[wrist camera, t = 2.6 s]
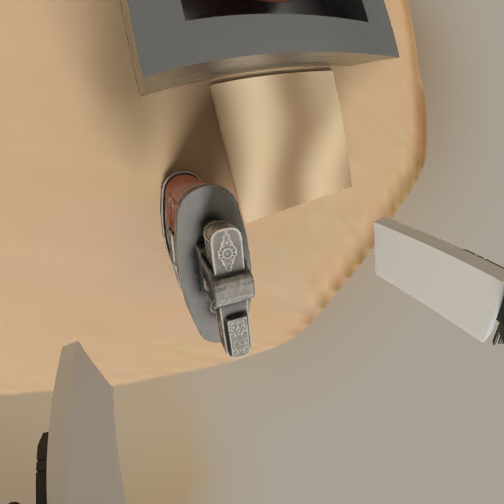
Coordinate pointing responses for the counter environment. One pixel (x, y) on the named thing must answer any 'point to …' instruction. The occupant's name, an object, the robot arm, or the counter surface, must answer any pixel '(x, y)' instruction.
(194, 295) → the lighter
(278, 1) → the button
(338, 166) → the coaster
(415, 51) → the counter surface
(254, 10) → the grey open box
